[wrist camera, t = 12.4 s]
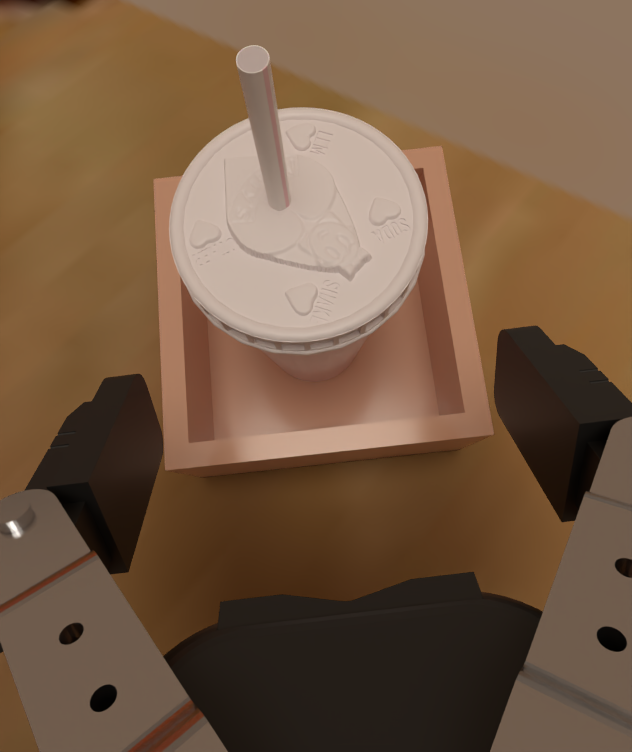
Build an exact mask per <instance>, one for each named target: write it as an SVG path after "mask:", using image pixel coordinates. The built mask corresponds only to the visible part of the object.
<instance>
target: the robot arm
mask: <svg viewBox="0 0 632 752" xmlns="http://www.w3.org/2000/svg"><path fill="white" fill-rule="evenodd" d="M494 398H495V404H496V408H497V411H498V414H499V416H500V418H501V420H502V421H503V423H504V425H505V426H506V428H507V430H508V431H509V433H510V435H511V437H512V438H513V440H514V442H515V443H516V445H517V447H518V449H519V450H520V452H521V454H522V455H523V457H524V459H525V460H526V462H527V464H528V466H529V467H530V469H531V471H532V472H533V474H534V476H535V477H536V479H537V481H538V483H539V484H540V486H541V488H542V489H543V491H544V493H545V494H546V496H547V498H548V500H549V501H550V503H551V505H552V506H553V508H554V510H555V511H556V513H557V515H558V517H559V518H560V520H561V522H567V521H575V523H574V525H573V528H572V531H571V534H570V537H569V540H568V542H567V545H566V548H565V551H564V554H563V557H562V559H561V562H560V565H559V568H558V571H557V574H556V576H555V579H554V582H553V585H552V588H551V591H550V593H549V596H548V599H547V602H546V605H545V608H544V610H543V612H542V611H540V610H539V609H537V608H534V607H532V606H530V605H527V604H525V603H523V602H520V601H517V600H514V599H511V598H508V597H505V596H500V595H496V594H491V593H484V592H481V591H480V588H479V585H478V583H477V580H476V577H475V574H474V572H468V573H460V574H451V575H443V576H434V577H426V578H418V579H410V580H408V581H405V582H402V583H400V584H397V585H394V586H391V587H389V588H386V589H383V590H380V591H378V592H375V593H372V594H369V595H367V596H364V597H361V598H358V599H356V600H352V601H335V600H326V599H317V598H309V597H300V596H291V595H283V594H282V595H274V596H265V597H257V598H248V599H240V600H231V601H223V602H220V611H219V620H218V623H217V624H214V625H212V626H209V627H207V628H205V629H203V630H201V631H199V632H197V633H195V634H193V635H192V636H190V637H189V638H187V639H185V640H184V641H182V642H181V643H179V644H178V645H177V646H175V647H174V648H173V649H172V650H170V651H169V652H168V653H167V654H165V655H164V656H162V654H161V653H160V651H159V650H158V648H157V647H156V645H155V643H154V642H153V640H152V639H151V637H150V636H149V634H148V633H147V631H146V630H145V628H144V626H143V625H142V623H141V622H140V620H139V619H138V617H137V616H136V614H135V612H134V611H133V609H132V608H131V606H130V605H129V603H128V602H127V600H126V599H125V597H124V595H123V594H122V592H121V591H120V589H119V588H118V586H117V585H116V583H115V582H114V580H113V578H112V577H111V575H110V574H117V573H125V572H129V568H130V565H131V561H132V558H133V555H134V551H135V548H136V544H137V541H138V537H139V534H140V531H141V527H142V524H143V520H144V517H145V513H146V510H147V507H148V503H149V500H150V496H151V493H152V489H153V486H154V483H155V479H156V476H157V472H158V469H159V465H160V462H161V459H162V454H163V437H162V432H161V428H160V425H159V422H158V419H157V416H156V413H155V410H154V406H153V403H152V400H151V397H150V394H149V391H148V388H147V385H146V382H145V380H144V378H143V377H142V375H140V374H133V375H125V376H117V377H108V378H105V379H104V380H103V382H102V384H101V385H100V387H99V389H98V391H97V393H96V395H95V397H94V398H93V400H92V401H91V402H84V403H83V404H82V405H80V406H79V407H78V408H77V409H76V410H75V411H74V412H72V413H71V414H70V415H69V416H68V417H67V418H66V420H65V421H64V423H63V425H62V427H61V428H60V430H59V432H58V436H56V437H55V439H54V440H53V442H52V444H51V446H50V447H51V449H48V451H47V453H46V454H45V456H44V458H43V459H42V461H41V463H40V465H39V466H38V468H37V470H36V472H35V473H34V475H33V477H32V478H31V480H30V482H29V484H28V485H27V487H26V489H25V491H22V492H18V493H15V494H12V495H10V496H8V497H6V498H4V499H2V500H0V653H1V652H3V651H4V654H5V656H6V659H7V662H8V665H9V668H10V670H11V673H12V676H13V679H14V682H15V684H16V687H17V690H18V693H19V695H20V698H21V701H22V704H23V707H24V709H25V712H26V715H27V718H28V721H29V723H30V726H31V729H32V732H33V734H34V737H35V740H36V743H37V746H38V748H39V751H40V752H632V403H631V402H630V401H629V400H628V399H627V398H626V397H625V396H624V395H623V394H622V392H621V391H620V390H619V389H618V388H617V387H616V386H615V385H614V384H613V383H612V382H609V381H608V378H607V377H606V376H605V375H604V374H603V373H602V372H601V371H598V368H597V367H596V366H595V365H594V364H593V363H592V362H591V361H590V360H589V359H588V358H587V357H586V356H585V355H584V354H582V353H580V352H578V351H576V350H574V349H572V348H570V347H568V346H566V345H564V344H562V345H555V344H554V343H553V342H552V341H551V340H550V339H549V337H548V336H547V335H546V334H545V333H544V332H543V331H542V330H541V329H540V328H539V327H538V326H528V327H520V328H512V329H504V330H501V331H500V333H499V336H498V344H497V357H496V370H495V384H494Z"/></svg>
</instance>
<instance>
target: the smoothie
mask: <svg viewBox="0 0 632 752" xmlns="http://www.w3.org/2000/svg"><path fill="white" fill-rule="evenodd" d="M236 64H237V68H238V73H239V77H240V81H241V86H242V90H243V94H244V99H245V103H246V107H247V112H248V116H249V118H248V119H245V120H243V121H241V122H239V123H237V124H235V125H233V126H231V127H230V128H228V129H227V130H225V131H223V132H222V133H221V134H219V135H218V136H217V137H215V138H214V139H213V140H212V141H210V142H209V143H208V144H207V145H206V146H205V147H204V148H203V149H202V150H201V151H200V152H199V153H198V154H197V156H196V157H195V158H194V159H193V161H192V162H191V163H190V165H189V166H188V168H187V169H186V171H185V173H184V174H183V176H182V178H181V180H180V182H179V184H178V187H177V190H176V192H175V195H174V198H173V202H172V206H171V212H170V220H169V237H170V245H171V251H172V255H173V258H174V262H175V265H176V267H177V270H178V272H179V274H180V276H181V278H182V280H183V282H184V284H185V285H186V287H187V289H188V292H189V294H190V296H191V298H192V300H193V302H194V303H195V304H196V305H197V307H198V308H199V309H200V310H201V311H202V312H203V313H204V315H205V316H206V317H207V318H208V319H209V320H210V321H211V323H212V324H213V325H214V326H216V327H217V328H219V329H220V330H222V331H223V332H225V333H227V334H228V335H230V336H231V337H233V338H234V339H236V340H237V341H239V342H240V343H242V344H246V345H249V346H252V347H255V348H258V349H260V350H261V351H262V352H264V353H265V354H266V355H267V356H268V357H269V358H270V359H272V360H273V361H274V362H275V363H276V364H277V365H278V366H279V367H281V368H282V369H283V370H284V371H285V372H286V373H288V374H289V375H291V376H293V377H295V378H297V379H300V380H303V381H310V382H318V381H324V380H328V379H331V378H333V377H335V376H337V375H339V374H340V373H342V372H343V371H344V370H345V369H346V368H347V367H348V366H349V365H350V364H351V362H352V361H353V359H354V358H355V356H356V355H357V353H358V351H359V350H360V348H361V347H362V345H363V344H364V342H365V340H366V339H367V337H368V336H369V335H370V334H372V333H373V332H375V331H376V330H377V329H378V328H379V327H380V326H381V325H383V324H384V323H385V322H386V321H387V320H388V319H390V318H391V317H392V316H393V315H394V314H395V313H397V312H398V310H399V309H400V307H401V306H402V304H403V303H404V301H405V300H406V298H407V297H408V295H409V294H410V292H411V291H412V289H413V288H414V286H415V284H416V281H417V278H418V275H419V272H420V269H421V266H422V262H423V259H424V256H425V245H426V239H427V233H428V211H427V204H426V198H425V194H424V191H423V187H422V185H421V182H420V180H419V177H418V175H417V173H416V171H415V170H414V168H413V166H412V164H411V163H410V161H409V160H408V159H407V157H406V156H405V155H404V153H403V152H402V151H401V150H400V149H399V147H398V146H397V145H395V144H394V143H393V142H392V141H391V140H390V139H389V138H388V137H387V136H385V135H384V134H383V133H382V132H380V131H379V130H377V129H376V128H374V127H372V126H371V125H369V124H367V123H365V122H363V121H361V120H359V119H357V118H354V117H352V116H349V115H346V114H343V113H340V112H336V111H331V110H326V109H319V108H303V107H302V108H286V109H279V110H277V104H276V97H275V91H274V84H273V78H272V71H271V65H270V58H269V54H268V52H267V51H266V50H265V49H264V48H262V47H260V46H257V45H252V46H247V47H245V48H243V49H242V50H240V52H239V53H238V54H237V57H236Z"/></svg>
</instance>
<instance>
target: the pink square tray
mask: <svg viewBox="0 0 632 752" xmlns="http://www.w3.org/2000/svg"><path fill="white" fill-rule="evenodd" d="M402 152H403V153H404V155H405V156H406V157H407V159H408V160H409V161H410V163H411V164H412V166H413V168H414V170H415V171H416V173H417V175H418V177H419V180H420V182H421V185H422V187H423V191H424V194H425V198H426V204H427V211H428V233H427V239H426V245H425V256H424V259H423V262H422V266H421V269H420V272H419V275H418V278H417V281H416V284H415V286H414V288H413V289H412V291H411V292H410V294H409V295H408V297H407V298H406V300H405V301H404V303H403V304H402V306H401V307H400V309H399V310H398V312H397V313H395V314H394V315H393V316H392V317H391V318H390V319H388V320H387V321H386V322H385V323H384V324H383V325H381V326H380V327H379V328H378V329H377V330H376V331H375V332H373V333H372V334H370V335H369V336H368V337H367V339H366V340H365V342H364V344H363V345H362V347H361V348H360V350H359V351H358V353H357V355H356V356H355V358H354V359H353V361H352V362H351V364H350V365H349V366H348V367H347V368H346V369H345V370H344V371H343V372H342V373H340V374H339V375H337V376H335V377H333V378H331V379H328V380H324V381H318V382H310V381H303V380H300V379H297V378H295V377H293V376H291V375H289V374H288V373H286V372H285V371H284V370H283V369H282V368H281V367H279V366H278V365H277V364H276V363H275V362H274V361H273V360H272V359H270V358H269V357H268V356H267V355H266V354H265V353H264V352H262V351H261V350H260V349H258V348H255V347H252V346H249V345H246V344H242V343H240V342H239V341H237V340H236V339H234V338H233V337H231V336H230V335H228V334H227V333H225V332H223V331H222V330H220V329H219V328H217V327H216V326H214V325H213V324H212V323H211V321H210V320H209V319H208V318H207V317H206V316H205V315H204V313H203V312H202V311H201V310H200V309H199V308H198V307H197V305H196V304H195V303H194V302H193V300H192V298H191V296H190V294H189V292H188V289H187V287H186V285H185V284H184V282H183V280H182V278H181V276H180V274H179V272H178V270H177V267H176V265H175V262H174V258H173V255H172V251H171V245H170V237H169V220H170V212H171V206H172V202H173V198H174V195H175V192H176V190H177V187H178V184H179V182H180V180H181V178H182V176H176V177H168V178H159V179H154V201H155V226H156V251H157V276H158V302H159V327H160V352H161V377H162V402H163V428H164V453H165V471H170V472H176V473H181V474H187V475H192V476H197V477H212V476H221V475H230V474H239V473H249V472H258V471H267V470H276V469H285V468H295V467H304V466H313V465H322V464H331V463H341V462H350V461H359V460H368V459H378V458H387V457H396V456H405V455H414V454H424V453H433V452H442V451H451V450H460V449H462V448H464V447H467V446H469V445H471V444H474V443H476V442H478V441H481V440H483V439H485V438H488V437H490V436H492V435H494V431H493V425H492V420H491V414H490V409H489V403H488V398H487V392H486V387H485V381H484V376H483V370H482V365H481V359H480V354H479V348H478V343H477V337H476V332H475V326H474V321H473V315H472V310H471V304H470V299H469V293H468V288H467V282H466V277H465V271H464V266H463V260H462V255H461V249H460V244H459V238H458V233H457V227H456V222H455V216H454V210H453V205H452V199H451V194H450V188H449V183H448V177H447V172H446V166H445V161H444V155H443V150H442V146H437V147H428V148H419V149H411V150H402Z"/></svg>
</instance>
